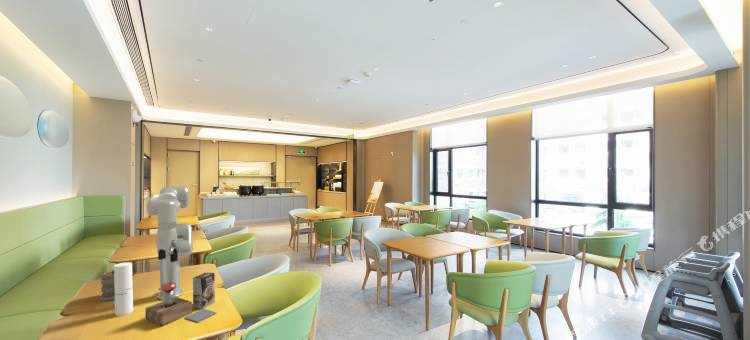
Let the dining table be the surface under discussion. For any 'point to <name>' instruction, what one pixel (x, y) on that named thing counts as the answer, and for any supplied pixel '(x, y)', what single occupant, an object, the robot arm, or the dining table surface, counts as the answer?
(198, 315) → the mat
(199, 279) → the coffee box
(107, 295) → the tankard
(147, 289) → the dining table surface
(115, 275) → the cylindrical container
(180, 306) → the block
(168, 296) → the red topped grey cylinder
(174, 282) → the robot arm
